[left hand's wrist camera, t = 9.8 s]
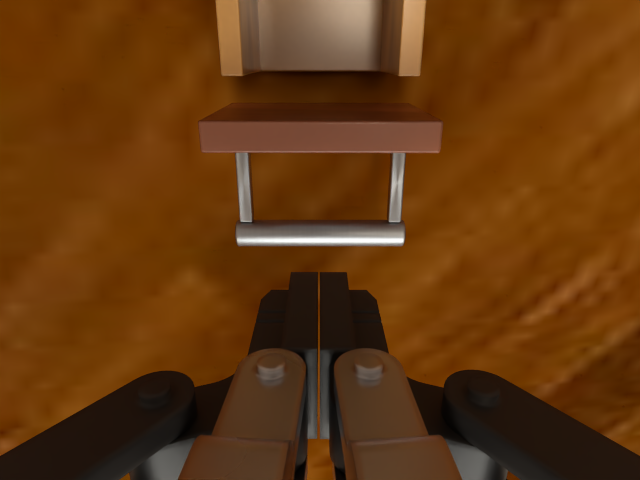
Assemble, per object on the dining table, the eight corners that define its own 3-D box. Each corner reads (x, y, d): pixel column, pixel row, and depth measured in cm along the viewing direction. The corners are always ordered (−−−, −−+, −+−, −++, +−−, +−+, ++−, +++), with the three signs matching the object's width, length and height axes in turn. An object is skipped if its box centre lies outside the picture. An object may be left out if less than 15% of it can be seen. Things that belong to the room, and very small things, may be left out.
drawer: (401, 219, 25) (428, 273, 19) (239, 218, 25) (212, 273, 19) (437, -274, 18) (502, -459, 11) (204, -275, 18) (140, -460, 11)
